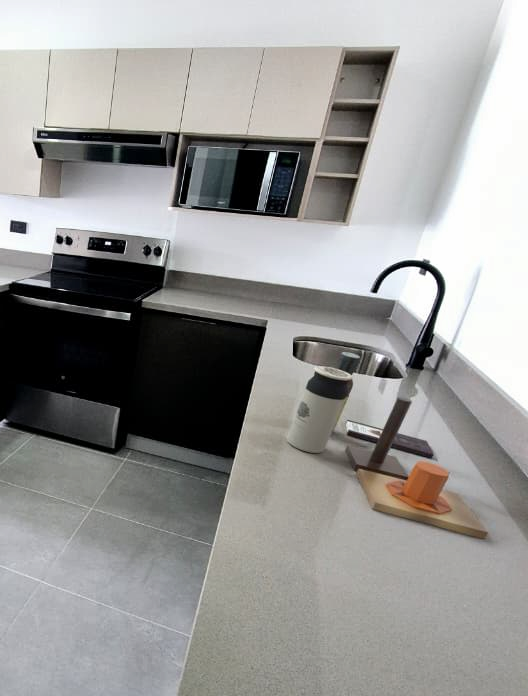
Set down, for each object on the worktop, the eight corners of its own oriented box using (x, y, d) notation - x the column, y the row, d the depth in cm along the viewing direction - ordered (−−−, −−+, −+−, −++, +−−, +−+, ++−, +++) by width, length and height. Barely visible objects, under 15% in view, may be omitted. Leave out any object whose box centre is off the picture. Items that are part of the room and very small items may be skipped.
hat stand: (392, 462, 113) (424, 397, 106) (406, 483, 104) (441, 413, 97) (344, 450, 115) (372, 386, 108) (353, 470, 106) (384, 401, 100)
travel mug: (317, 441, 118) (346, 369, 110) (328, 457, 111) (360, 381, 103) (282, 434, 119) (308, 363, 111) (291, 449, 111) (320, 374, 104)
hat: (437, 492, 99) (453, 463, 96) (457, 519, 90) (475, 489, 87) (382, 478, 101) (395, 450, 98) (396, 503, 92) (411, 473, 90)
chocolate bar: (433, 454, 117) (348, 431, 123) (431, 458, 117) (347, 434, 124) (426, 440, 124) (347, 419, 131) (425, 444, 125) (345, 422, 131)
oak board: (453, 499, 100) (457, 493, 99) (484, 539, 88) (488, 532, 87) (355, 474, 105) (358, 468, 104) (372, 509, 92) (375, 502, 92)
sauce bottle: (303, 421, 128) (331, 347, 120) (328, 426, 127) (359, 352, 119) (310, 432, 122) (340, 355, 114) (336, 437, 121) (369, 360, 113)
